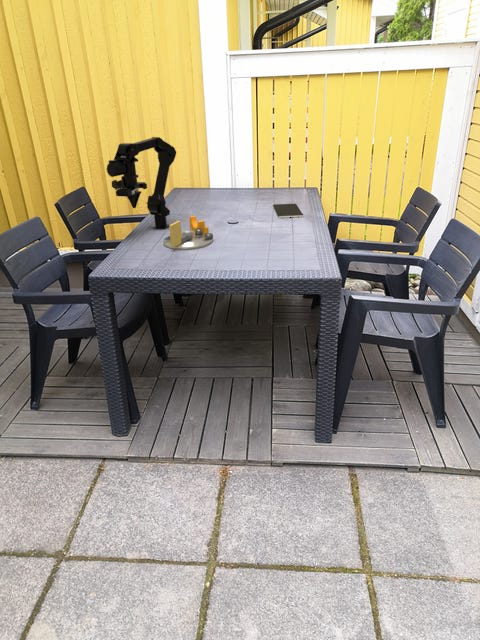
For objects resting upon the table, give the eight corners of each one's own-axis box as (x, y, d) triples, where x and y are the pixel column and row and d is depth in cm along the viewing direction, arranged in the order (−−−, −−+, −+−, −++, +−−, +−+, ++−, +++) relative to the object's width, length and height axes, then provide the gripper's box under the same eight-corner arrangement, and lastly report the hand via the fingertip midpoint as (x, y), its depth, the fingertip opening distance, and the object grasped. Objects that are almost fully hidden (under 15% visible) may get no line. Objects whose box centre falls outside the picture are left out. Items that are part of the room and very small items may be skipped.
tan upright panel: (186, 236, 217) (184, 216, 212) (194, 237, 215) (192, 216, 211) (168, 246, 204) (165, 225, 200) (177, 247, 203) (174, 225, 198)
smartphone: (278, 220, 245) (278, 216, 245) (272, 207, 269) (272, 204, 269) (304, 219, 246) (304, 215, 245) (296, 206, 270) (296, 203, 269)
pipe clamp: (208, 234, 225) (207, 220, 222) (200, 235, 224) (199, 222, 221) (198, 228, 235) (197, 215, 232) (190, 229, 233) (189, 216, 230)
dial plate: (176, 233, 227) (175, 227, 226) (219, 236, 221) (219, 229, 220) (154, 248, 209) (154, 241, 207) (201, 251, 202) (201, 244, 201)
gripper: (124, 169, 224) (128, 202, 231) (102, 176, 208) (108, 212, 215) (145, 169, 221) (149, 203, 228) (125, 177, 205) (130, 213, 212)
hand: (134, 208), depth 221 cm, fingers closed
